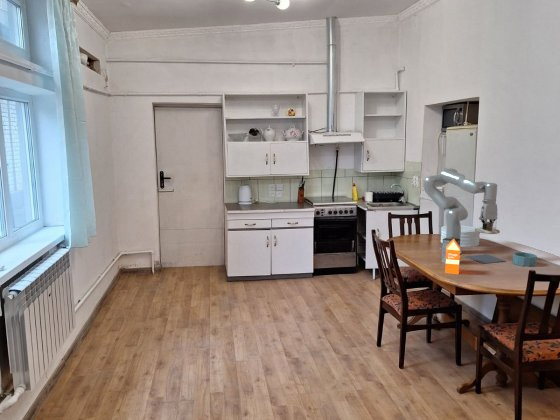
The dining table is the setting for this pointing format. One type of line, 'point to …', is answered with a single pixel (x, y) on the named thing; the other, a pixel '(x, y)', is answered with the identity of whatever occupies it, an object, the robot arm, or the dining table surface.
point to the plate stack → (464, 236)
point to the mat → (485, 259)
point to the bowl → (524, 259)
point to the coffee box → (446, 243)
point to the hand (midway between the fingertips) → (487, 228)
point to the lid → (487, 229)
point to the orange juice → (452, 258)
